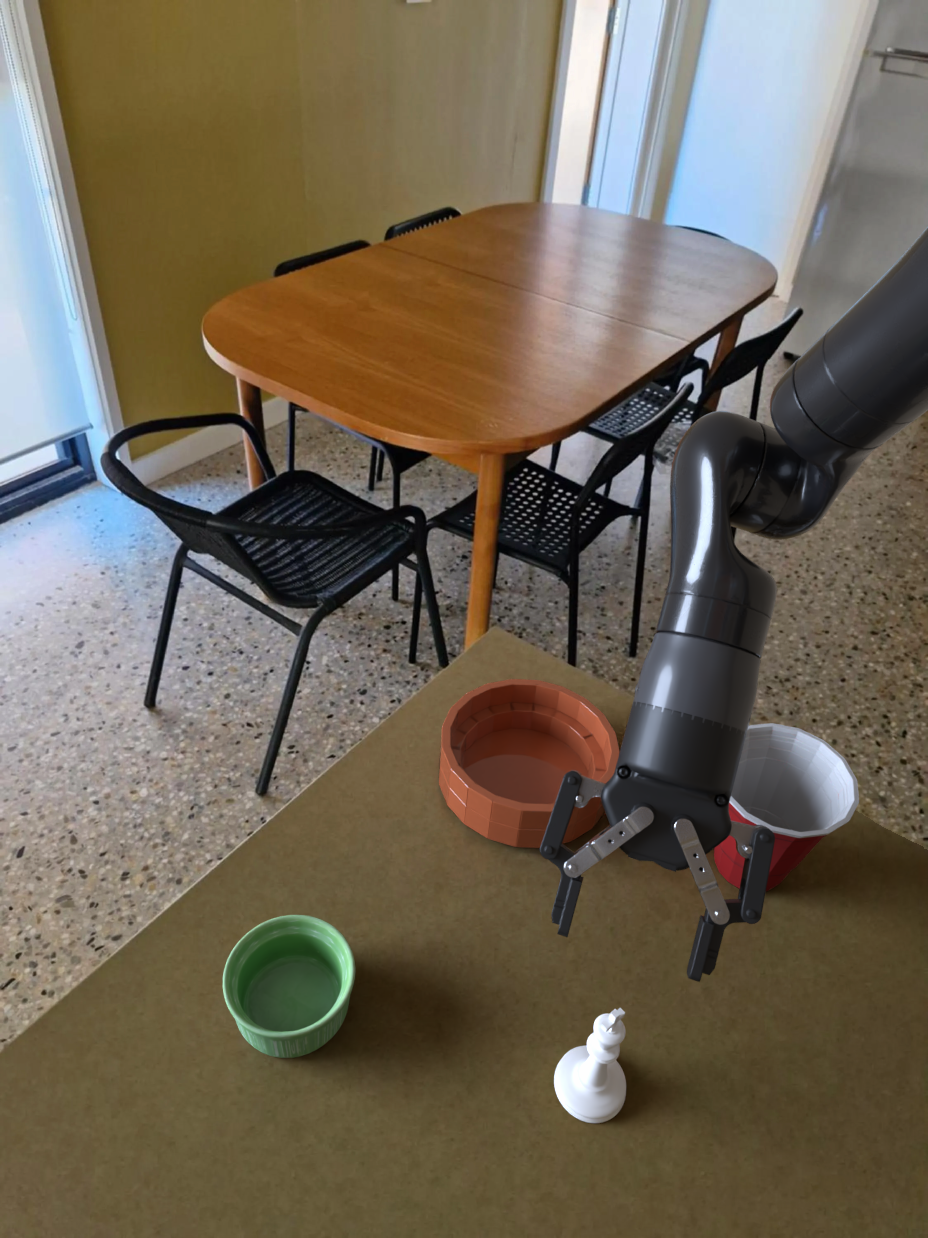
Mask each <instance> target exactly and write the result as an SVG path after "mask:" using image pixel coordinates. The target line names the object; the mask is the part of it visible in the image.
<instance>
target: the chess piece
mask: <svg viewBox="0 0 928 1238" xmlns="http://www.w3.org/2000/svg"><path fill="white" fill-rule="evenodd" d="M625 1015H626V1011H624V1010H623V1009H622V1007H619V1008H617V1009H616V1008H614V1009H612V1010H611V1012H610V1013H602V1014H600V1015H598V1016H597V1017H596V1018H595V1020H594V1023H593V1032H592V1033H590V1035H589V1036H588V1037H587V1040H586V1045H578V1046H576V1047H573V1048H571V1049H569V1050H568V1051H567V1052H566V1053H565V1054H564V1055H563V1056H562V1057H561V1059H560V1060H559V1062H558V1063H557V1065H556V1067H555V1070H554V1076H553V1085H554V1086H553V1087H554V1091H555V1094H556V1097H557V1099H558V1101H559V1103H560V1104H561V1106H562V1107H563V1108H564V1110H565V1111H567V1113H568V1114H569V1115H571V1116H572V1117H574V1118H576V1119H577V1120H579V1121H581V1122H585V1123H589V1124H600V1123H601V1124H602V1123H605V1122H608V1121H610V1120H611V1119H613V1118H615V1116H617V1115H618V1114H619V1113H620V1112H621V1110H622V1108H623V1107H624V1103H625V1101H626V1096H627V1080H626V1076H625V1072H624V1071H623V1068H622V1067H621V1064H620V1063H619V1062H618V1061H617V1059H619V1056H620V1053H621V1052H620V1051H621V1048H620V1044H621V1043H622V1042H623V1041H624V1040H625V1037H626V1031H627V1030H626V1027H625V1024H624V1022H623V1020H622V1019H623V1018H624V1017H625Z"/></svg>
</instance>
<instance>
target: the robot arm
mask: <svg viewBox="0 0 928 1238" xmlns="http://www.w3.org/2000/svg"><path fill="white" fill-rule="evenodd" d="M781 375H782V376H780V378H779V379H778V381H776V384H775V385H774V387H773V390H772V392H771V394H770V398H769V414H770V418H771V422H772V424H773V426H774V427H773V426H770V425H768V424H765V423H763V422H760V421H757V420H755V419H752V418H749V417H747V416H744V415H741V414H739V413H736V412H732V411H726V410H715V411H712V412H709V413H707V414H704V415H703V416H701V417H699V418H698V419H697V420H696V421H695V422H693V423H692V424H691V425H690V426H689V427H688V429H687V430H686V431H685V432H684V434H683V436H682V437H681V438H680V441H679V442H678V444H677V446H676V449H675V452H674V455H673V459H672V463H671V470H670V476H669V477H670V478H669V479H670V480H669V502H670V564H669V565H670V566H669V577H668V583H667V587H666V589H665V593H664V598H663V602H662V606H661V608H660V609H661V610H660V614H659V617H658V621H657V624H656V629H655V633H654V636H653V639H652V642H651V645H650V647H649V650H648V651H647V654H646V656H645V658H644V661H643V664H642V667H641V670H640V674H639V676H638V681H637V684H636V685H635V688H634V696H633V700H632V704H631V708H630V710H629V711H630V712H629V714H628V718H627V724H626V727H625V731H624V734H623V737H622V742H621V746H620V748H619V751H620V753H619V757H618V760H617V764H616V768H615V772H614V774H613V776H612V777H611V779H610V780H609V781H608V782H607V783H606V784H605V783H602V782H599V781H597V780H594V779H591V778H588V777H586V776H583V775H582V774H581V773H580V772H579V771H577V770H571V771H569V772H567V773H566V774H565V775H564V778H563V781H562V784H561V787H560V790H559V792H558V795H557V798H556V801H555V804H554V807H553V810H552V813H551V816H550V819H549V822H548V825H547V828H546V831H545V834H544V837H543V840H542V843H541V846H540V848H539V854H540V855H541V857H542V858H544V859H545V860H548V861H549V862H551V863H552V864H553V865H555V866H556V867H557V868H558V870H559V873H560V880H559V884H558V888H557V891H556V895H555V899H554V902H553V906H552V909H551V915H550V916H551V923H552V924H555V925H558V930H557V935H559V936H562V937H565V938H568V937H569V933H570V930H571V926H572V922H573V918H574V915H575V911H576V908H577V904H578V900H579V896H580V892H581V888H582V885H583V880H584V876H582V875H583V874H584V873H585V872H587V870H589V869H590V868H592V867H593V866H594V865H596V864H597V863H598V862H600V861H601V860H602V861H603V859H605V858H606V857H607V856H609V855H610V854H612V853H613V852H614V851H616V850H617V849H618V848H619V849H620V850H621V852H622V853H624V854H625V855H626V856H627V858H630V859H633V860H636V861H640V862H653V863H654V864H656V865H658V866H660V867H661V868H662V869H665V870H668V871H672V872H675V873H677V871H684V870H687V869H689V872H690V873H691V876H692V879H693V881H694V883H695V885H696V887H697V888H696V889H697V890H698V892H699V895H700V897H701V899H702V902H703V904H704V907H705V910H704V915H702V914H700V916H699V919H698V924H697V926H696V931H695V936H694V939H693V944H692V947H691V951H690V954H689V955H690V956H689V958H688V963H687V967H686V975H687V978H688V979H689V980H692V981H695V982H698V983H700V982H701V981H702V976H703V974H705V975H707V976H710V975H712V973H713V971H714V970H715V969H716V965H717V961H718V957H719V952H720V949H721V945H722V940H723V937H724V934H725V930H726V929H727V927H728V926H730V925H732V924H738V923H739V924H740V923H741V924H742V923H746V924H749V925H755V924H757V923H759V922H760V921H761V919H762V914H763V909H764V903H765V897H766V893H767V892H766V887H767V882H768V876H769V871H770V865H771V859H772V854H773V848H774V843H775V835H774V833H773V832H772V831H771V830H770V829H769V828H767V827H766V826H763V825H755V826H753V825H748V824H744V823H740V822H735V821H731V819H730V815H729V801H730V797H731V793H732V790H733V786H734V782H735V778H736V774H737V770H738V766H739V762H740V758H741V754H742V750H743V746H744V742H745V738H746V734H747V730H748V726H749V725H750V722H751V717H752V714H753V710H754V706H755V703H756V698H757V697H756V696H757V694H758V693H757V692H758V683H759V674H760V666H761V662H762V660H761V659H762V657H763V653H764V649H765V646H766V641H767V637H768V634H769V629H770V625H771V620H772V618H773V614H774V609H775V605H776V600H777V595H778V594H777V593H778V585H777V582H776V579H775V578H774V576H772V573H771V574H770V572H769V571H767V570H766V569H765V568H763V567H762V566H760V565H759V564H757V563H756V562H755V561H753V560H751V559H750V558H748V556H746V555H745V554H744V553H742V551H740V549H739V548H738V547H737V545H736V543H735V540H734V536H733V532H732V531H733V530H732V527H733V528H736V529H738V530H741V531H744V532H747V533H750V534H753V535H755V536H758V537H761V538H765V539H769V540H776V541H782V540H788V539H792V538H796V537H799V536H802V535H804V534H806V533H808V532H809V531H811V530H813V529H814V528H815V527H816V526H817V525H818V524H820V523H821V521H822V520H823V518H824V517H825V516H826V515H827V513H828V512H829V510H830V509H831V507H832V506H833V504H834V502H836V500H837V498H838V496H839V495H840V494H841V492H842V491H843V490H844V488H845V487H846V486H847V484H848V483H849V481H850V480H851V479H852V478H853V477H854V475H855V474H856V473H857V471H858V470H859V469H860V467H861V466H862V465H863V464H864V462H865V461H866V460H867V459H868V457H869V456H870V455H871V454H872V453H873V452H874V451H875V450H877V449H878V448H880V447H881V446H883V445H884V444H885V443H886V442H888V441H889V440H890V439H892V438H893V437H894V436H896V435H897V434H899V433H900V432H901V431H903V430H904V429H905V428H907V427H908V426H909V425H910V424H912V423H913V422H915V421H916V420H917V419H918V418H920V417H921V416H922V415H924V414H925V413H926V412H928V226H927V227H926V228H925V229H924V230H923V231H922V232H921V234H919V236H918V237H917V238H916V239H915V240H914V241H913V242H912V244H911V245H910V246H909V247H908V248H907V249H906V250H905V251H904V253H903V254H902V255H901V256H900V257H899V258H898V259H897V260H896V261H895V262H894V263H893V265H892V266H891V267H890V268H889V269H888V270H887V271H886V272H885V273H884V274H883V275H881V277H880V278H879V279H878V280H877V281H876V282H875V283H874V284H873V285H871V287H870V288H869V289H868V290H867V291H866V292H865V293H864V294H863V295H862V296H861V297H860V298H859V299H858V300H856V302H855V303H854V304H852V306H851V307H850V308H849V309H848V310H847V311H845V313H843V314H842V315H841V316H840V317H839V318H838V319H837V320H836V321H835V322H834V323H833V324H832V325H831V326H830V327H829V328H828V329H827V330H826V331H825V332H824V333H823V334H822V335H821V336H819V338H818V339H817V340H816V341H814V342H813V343H812V345H810V347H808V348H807V349H806V350H805V351H804V352H803V353H802V354H801V356H799V357H798V358H797V359H796V360H795V361H794V362H793V363H792V364H791V365H790V366H789V367H788V368H787V369H786V371H785V372H784V373H783V374H781ZM593 797H601V802H602V805H603V807H604V810H605V812H604V814H605V815H606V817H607V821H608V823H609V825H607V826H606V827H604V829H603V830H600V831H599V832H598V833H597V834H596V835H594V836H593V837H592V838H591V839H589V840H588V841H587V842H585V844H583V845H581V846H580V847H579V848H578V849H576V850H575V851H573V850H571V848H569V847H567V846H566V845H565V844H564V843H563V844H562V842H563V839H564V836H565V833H566V830H567V827H568V824H569V821H570V818H571V815H572V812H573V809H574V806H575V807H578V808H582V807H584V806H586V805H587V803H588V802H589V800H590V799H591V798H593ZM728 836H732V837H733V838H734V839H735V841H736V850H737V852H738V853H739V854H740V855H741V856H742V857H744V858H745V861H744V867H743V872H742V878H741V883H740V889H739V888H738V895H737V898H726V899H725V898H724V896H723V894H722V891H721V889H720V886H719V884H718V881H717V879H716V877H715V874H714V872H713V869H712V867H711V864H710V862H709V860H708V858H707V856H706V855H708V854H709V853H710V852H711V851H714V848H715V847H716V846H718V845H719V844H720V843H722V842H723V841H724V840H725V839H726V838H727V837H728Z"/></svg>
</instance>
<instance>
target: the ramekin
mask: <svg viewBox="0 0 928 1238" xmlns="http://www.w3.org/2000/svg"><path fill="white" fill-rule="evenodd" d="M355 981H356V962H355V956H354V952H353V950H352V948H351V945H350V944H349V941H348V939H347V938H346V937H345V936H344V934H343V933H342V932H341V931H340V930H339V929H338V928H337V927H335V926H334V925H332V924H331V923H329V922H328V921H326V920H323V919H321V918H319V917H316V916H312V915H306V914H287V915H281V916H277V917H274V918H273V917H272V918H271V919H268V920H266V921H263V922H261V923H260V924H258V925H256V926H255V927H253V928H252V929H250V930H249V931H248V932H247V933H245V935H243V936H242V937H241V938H240V940H239V941H238V942H237V943H236V944H235V946H234V947H233V949H232V950H231V951H230V953H229V955H228V957H227V959H226V963H225V965H224V968H223V975H222V993H223V997H224V1001H225V1004H226V1007H227V1009H228V1011H229V1013H230V1014H231V1016H232V1017H233V1018H234V1020H235V1023H236V1025H237V1028H238V1030H239V1032H240V1034H241V1035H242V1037H243V1038H244V1039H245V1041H246V1042H247V1043H248V1044H249V1045H250V1046H252V1047H253V1048H254V1049H256V1050H257V1051H259V1052H260V1053H262V1054H264V1055H267V1056H270V1057H274V1058H280V1059H294V1058H299V1057H302V1056H306V1055H309V1054H311V1053H312V1052H315V1051H317V1050H318V1049H320V1048H321V1047H323V1046H324V1045H326V1044H327V1043H328V1042H329V1041H330V1040H332V1038H333V1037H334V1036H335V1035H336V1034H337V1033H338V1031H339V1030H340V1029H341V1027H342V1025H343V1024H344V1021H345V1018H346V1016H347V1013H348V1010H349V1006H350V1005H349V1004H350V1001H351V994H352V991H353V988H354V985H355Z"/></svg>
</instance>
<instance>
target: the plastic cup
mask: <svg viewBox="0 0 928 1238" xmlns="http://www.w3.org/2000/svg"><path fill="white" fill-rule="evenodd" d="M858 782H859V781H858V779H857V777H856V775H855V773H854V771H853V769H852V768H851V766H850V764H849V763H848V762H847V760H846V758H845V757H844V756H843V755H841V754H840V752H838V751H837V750H836V749H835V748H834V747H833V746H832V745H830V744H829V743H828V742H827V741H826V740H824V739H822V738H820V737H818V736H816V735H814V734H812V733H810V732H808V731H806V730H803V729H802V728H799V727H796V726H795V727H794V726H789V725H785V724H780V723H775V722H769V723H759V724H749V726H748V730H747V734H746V738H745V742H744V746H743V750H742V754H741V758H740V762H739V766H738V770H737V774H736V778H735V782H734V786H733V790H732V793H731V797H730V801H729V815H730V819H731V821H735V822H740V823H744V824H748V825H753V826H755V825H763V826H766V827H767V828H769V829H770V830H771V831H772V832H773V833H774V835H775V843H774V848H773V854H772V859H771V865H770V871H769V876H768V882H767V887H766V893H767V892H769V891H771V890H773V889H774V888H776V887H777V886H779V885H780V884H781V883H782V882H783V881H784V880H785V879H786V878H787V876H789V874H790V873H791V872H792V871H793V870H795V869H797V867H798V866H799V865H800V864H801V863H802V862H803V860H804V859H805V858H806V857H807V856H808V855H809V854H810V853H811V852H812V850H813V849H815V847H816V846H817V845H818V844H819V842H821V840H823V838H825V837H827V836H828V835H829V834H831V833H833V832H834V831H836V830H838V829H839V828H841V827H843V826H844V825H846V824H848V823H849V822H850V821H851V819H852V817H853V815H854V813H855V811H856V809H857V807H858V805H859V804H860V795H859V783H858ZM713 857H714V863H715V866H716V869H717V871H718V873H719V874H720V875H721V876H722V877H723V879H725V880H726V881H727V883H729V884H731V885H732V886H734V887H735V888H738V890H739V889H740V883H741V878H742V872H743V867H744V861H745V858H744V857H742V856H741V855H740V854H739V853H738V852H737V850H736V841H735V839H734V838H733V837H732V836H728V837H727V838H726V839H725V840H724V841H723V842H722V843H720V844H719V845H718V846H716V847H715V848H714V849H713Z"/></svg>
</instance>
